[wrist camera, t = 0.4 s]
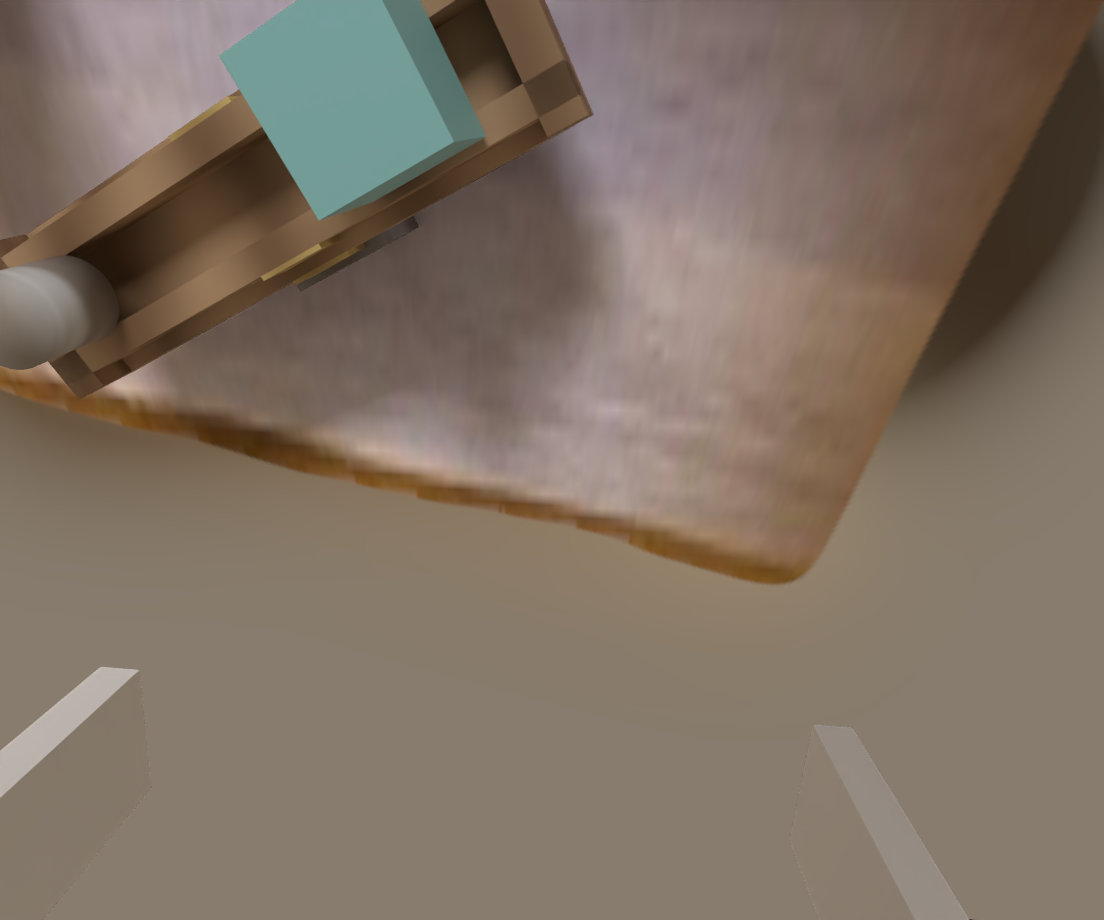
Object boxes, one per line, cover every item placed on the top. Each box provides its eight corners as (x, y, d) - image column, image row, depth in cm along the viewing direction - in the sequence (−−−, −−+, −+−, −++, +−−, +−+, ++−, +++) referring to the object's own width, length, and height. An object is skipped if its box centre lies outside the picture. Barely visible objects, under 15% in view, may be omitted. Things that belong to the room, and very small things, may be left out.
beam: (524, -61, 29) (454, -174, 18) (603, 125, 32) (587, 131, 21) (102, 218, 37) (-140, 267, 25) (196, 349, 40) (18, 445, 28)
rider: (430, -4, 24) (359, -45, 18) (496, 134, 26) (454, 141, 20) (319, 69, 26) (218, 55, 20) (390, 195, 28) (319, 220, 21)
